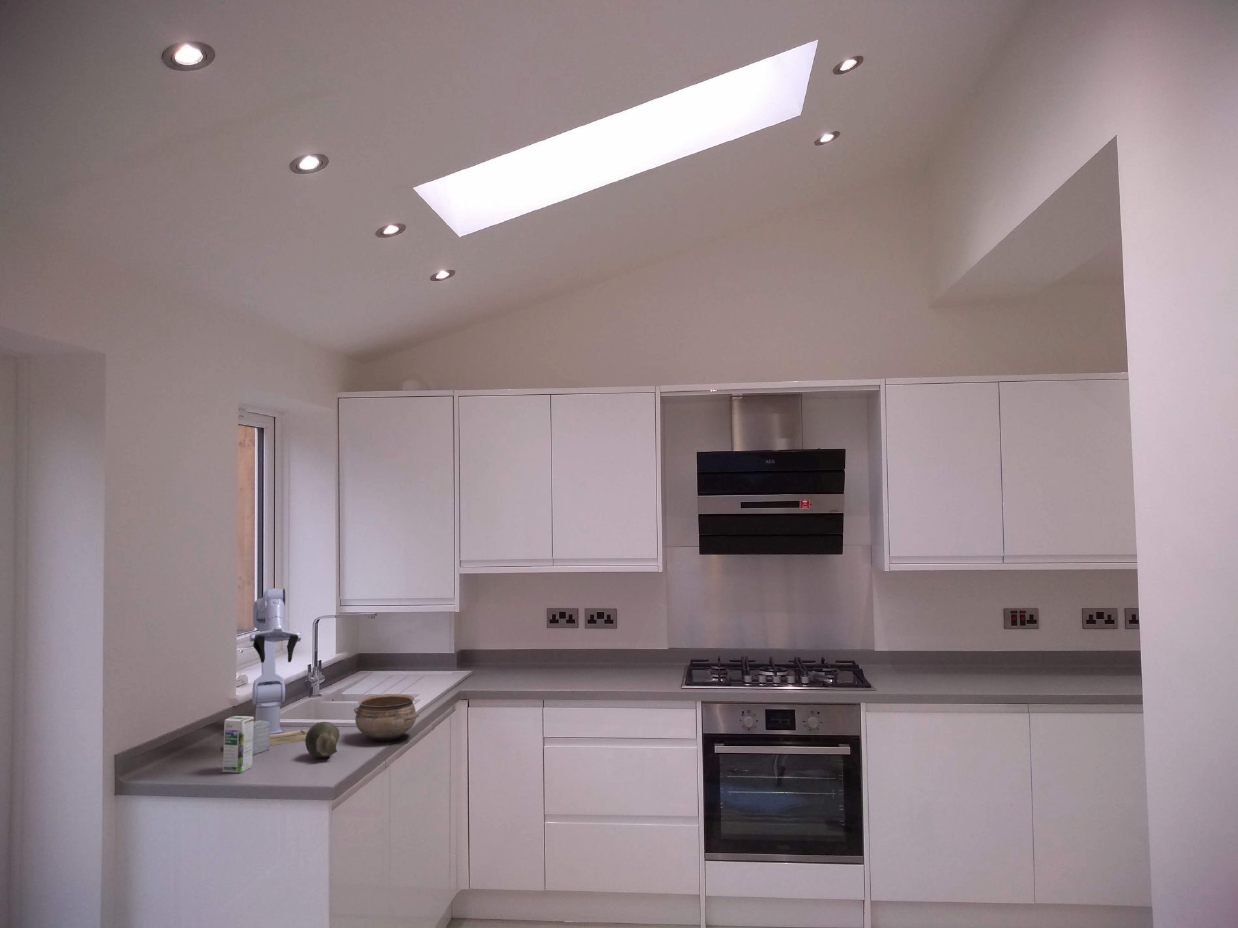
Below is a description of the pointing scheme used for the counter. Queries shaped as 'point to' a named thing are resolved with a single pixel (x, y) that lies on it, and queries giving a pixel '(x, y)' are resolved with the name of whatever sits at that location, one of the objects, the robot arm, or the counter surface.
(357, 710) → the cooking pot
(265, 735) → the medicine box
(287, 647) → the robot arm
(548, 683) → the counter surface
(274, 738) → the pine board
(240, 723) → the syrup box
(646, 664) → the counter surface
